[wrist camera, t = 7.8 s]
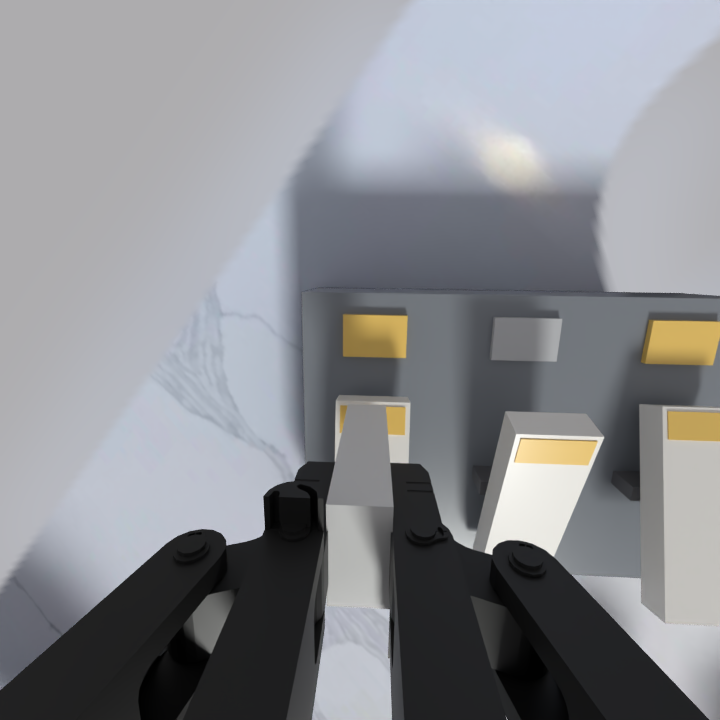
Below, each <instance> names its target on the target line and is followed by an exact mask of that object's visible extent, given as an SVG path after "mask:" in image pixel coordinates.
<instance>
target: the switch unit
mask: <svg viewBox="0 0 720 720" xmlns="http://www.w3.org/2000/svg"><path fill="white" fill-rule="evenodd" d="M301 297H302V340H303V383H304V425H305V464H306V463H307V462H308V461H316V462H335V415H336V399H337V398H338V396H339V395H359V396H394V397H408V398H409V401H410V433H409V463H413V464H421V465H422V466H423V467H424V468H425V469H426V470H427V471H428V472H429V476H430V479H431V485H432V487H433V491H434V494H435V498H436V502H437V505H438V509H439V513H440V517H441V520H442V524H443V525H445V526H446V527H447V528H448V529H449V530H450V532H451V534H452V535H453V538H454V540H455V541H456V542H458V543H460V544H461V545H463V546H465V547H468V548H471V549H473V544H474V540H475V536H476V532H477V528H478V523H479V519H480V515H481V511H482V507H483V503H484V498H485V494H486V490H487V486H488V482H489V478H490V473H491V469H492V465H493V461H494V457H495V453H496V448H497V444H498V440H499V436H500V432H501V428H502V423H503V419H504V415H505V411H516V412H549V413H582V414H587V415H588V417H589V418H590V419H591V420H592V422H593V423H594V424H595V426H596V427H597V428H598V429H599V431H600V432H601V433H602V435H603V436H604V439H603V442H602V444H601V446H600V449H599V451H598V453H597V456H596V458H595V461H594V463H593V465H592V468H591V470H590V472H589V475H588V477H587V479H586V482H585V484H584V487H583V489H582V491H581V494H580V496H579V498H578V501H577V503H576V506H575V508H574V510H573V513H572V515H571V517H570V520H569V522H568V524H567V527H566V529H565V532H564V534H563V536H562V539H561V541H560V543H559V546H558V548H557V551H556V553H555V555H554V558H556V559H557V560H558V562H559V563H560V564H561V565H562V566H563V567H564V568H565V569H566V570H567V571H568V572H569V573H570V574H571V575H588V576H608V577H628V578H641V527H640V426H639V404H651V405H686V406H714V407H720V296H712V295H698V294H684V293H630V292H626V293H625V292H567V291H503V290H439V289H375V288H315V289H311V290H307V291H303V292H301Z"/></svg>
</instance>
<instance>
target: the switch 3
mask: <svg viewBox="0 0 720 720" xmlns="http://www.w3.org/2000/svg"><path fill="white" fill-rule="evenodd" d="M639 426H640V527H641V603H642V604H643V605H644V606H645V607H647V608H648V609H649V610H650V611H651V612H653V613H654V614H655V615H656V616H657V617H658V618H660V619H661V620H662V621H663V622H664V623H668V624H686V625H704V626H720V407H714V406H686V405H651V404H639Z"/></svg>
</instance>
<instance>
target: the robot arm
mask: <svg viewBox="0 0 720 720" xmlns="http://www.w3.org/2000/svg"><path fill="white" fill-rule="evenodd" d="M263 497H264V517H265V531H264V533H263V535H262V536H261V537H259V538H257V539H254V540H251V541H247V542H243V543H238V544H232V545H227V546H226V540H225V538H224V537H223V535H222V534H221V533H219V532H216V531H214V530H206V529H201V530H195V531H189V532H187V533H185V534H182V535H180V536H177V537H176V538H174V539H173V540H171V541H170V542H168V543H167V544H166V545H164V546H163V547H162V548H161V549H160V550H159V551H158V552H157V553H155V554H154V555H153V556H152V557H151V558H150V559H149V560H147V561H146V562H145V563H144V564H143V565H142V566H141V567H140V568H138V569H137V570H136V571H135V572H134V573H133V574H132V575H130V576H129V577H128V578H127V579H126V580H125V581H124V582H123V583H121V584H120V585H119V586H118V587H117V588H116V589H115V590H114V591H112V592H111V593H110V594H109V595H108V596H107V597H106V598H104V599H103V600H102V601H101V602H100V603H99V604H98V605H97V606H95V607H94V608H93V609H92V610H91V611H90V612H89V613H87V614H86V615H85V616H84V617H83V618H82V619H81V620H80V621H78V622H77V623H76V624H75V625H74V626H73V627H72V628H71V629H69V630H68V631H67V632H66V633H65V634H64V635H63V636H61V637H60V638H59V639H58V640H57V641H56V642H55V643H54V644H52V645H51V646H50V647H49V648H48V649H47V650H46V651H44V652H43V653H42V654H41V655H40V656H39V657H38V658H37V659H35V660H34V661H33V662H32V663H31V664H30V665H29V666H28V667H26V668H25V669H24V670H23V671H22V672H21V673H20V674H18V675H17V676H16V677H15V678H14V679H13V680H12V681H11V682H9V683H8V684H7V685H6V686H5V687H4V688H3V689H1V690H0V720H312V713H313V706H314V699H315V692H316V685H317V678H318V671H319V664H320V657H321V650H322V643H323V636H324V629H325V603H326V596H327V606H335V607H356V608H377V609H390V621H389V647H388V658H390V670H391V699H392V720H507V719H508V720H709V719H708V718H707V717H706V716H705V715H704V714H703V713H702V712H701V711H700V710H699V708H698V707H697V706H696V705H695V704H694V703H693V702H692V701H691V700H690V699H689V698H688V697H687V696H686V695H685V694H684V693H683V692H682V691H681V690H680V689H679V687H678V686H677V685H676V684H675V683H674V682H673V681H672V680H671V679H670V678H669V677H668V676H667V675H666V674H665V673H664V672H663V671H662V670H661V669H660V668H659V666H658V665H657V664H656V663H655V662H654V661H653V660H652V659H651V658H650V657H649V656H648V655H647V654H646V653H645V652H644V651H643V650H642V649H641V648H640V647H639V646H638V644H637V643H636V642H635V641H634V640H633V639H632V638H631V637H630V636H629V635H628V634H627V633H626V632H625V631H624V630H623V629H622V628H621V627H620V626H619V625H618V623H617V622H616V621H615V620H614V619H613V618H612V617H611V616H610V615H609V614H608V613H607V612H606V611H605V610H604V609H603V608H602V607H601V606H600V605H599V604H598V602H597V601H596V600H595V599H594V598H593V597H592V596H591V595H590V594H589V593H588V592H587V591H586V590H585V589H584V588H583V587H582V586H581V585H580V584H579V583H578V581H577V580H576V579H575V578H574V577H573V576H572V575H571V574H570V573H569V572H568V571H567V570H566V569H565V568H564V567H563V566H562V565H561V564H560V563H559V562H558V560H557V559H556V558H554V557H553V556H552V555H551V554H549V553H548V552H547V551H546V550H544V549H542V548H540V547H538V546H536V545H534V544H532V543H528V542H524V541H520V540H507V541H504V542H501V543H498V544H497V545H496V546H495V547H494V548H493V551H492V555H491V554H487V553H484V552H480V551H477V550H473V549H471V548H468V547H465V546H463V545H461V544H460V543H458V542H456V541H455V540H454V538H453V535H452V534H451V532H450V530H449V529H448V528H447V527H446V526H445V525H443V524H442V520H441V517H440V513H439V509H438V505H437V502H436V498H435V494H434V491H433V487H432V485H431V479H430V476H429V472H428V471H427V470H426V469H425V468H424V467H423V466H422V465H421V464H413V463H390V453H389V440H388V427H387V414H386V405H360V404H348V406H347V410H346V415H345V419H344V424H343V429H342V433H341V438H340V442H339V447H338V452H337V456H336V461H335V462H316V461H308V462H307V463H306V464H305V465H303V466H302V467H301V468H300V469H299V470H298V472H297V475H296V477H295V481H294V482H286V483H283V484H279V485H277V486H275V487H273V488H272V489H270V490H269V491H268V492H267V493H266V494H265V495H264V496H263ZM505 715H506V716H505ZM506 717H507V719H506Z"/></svg>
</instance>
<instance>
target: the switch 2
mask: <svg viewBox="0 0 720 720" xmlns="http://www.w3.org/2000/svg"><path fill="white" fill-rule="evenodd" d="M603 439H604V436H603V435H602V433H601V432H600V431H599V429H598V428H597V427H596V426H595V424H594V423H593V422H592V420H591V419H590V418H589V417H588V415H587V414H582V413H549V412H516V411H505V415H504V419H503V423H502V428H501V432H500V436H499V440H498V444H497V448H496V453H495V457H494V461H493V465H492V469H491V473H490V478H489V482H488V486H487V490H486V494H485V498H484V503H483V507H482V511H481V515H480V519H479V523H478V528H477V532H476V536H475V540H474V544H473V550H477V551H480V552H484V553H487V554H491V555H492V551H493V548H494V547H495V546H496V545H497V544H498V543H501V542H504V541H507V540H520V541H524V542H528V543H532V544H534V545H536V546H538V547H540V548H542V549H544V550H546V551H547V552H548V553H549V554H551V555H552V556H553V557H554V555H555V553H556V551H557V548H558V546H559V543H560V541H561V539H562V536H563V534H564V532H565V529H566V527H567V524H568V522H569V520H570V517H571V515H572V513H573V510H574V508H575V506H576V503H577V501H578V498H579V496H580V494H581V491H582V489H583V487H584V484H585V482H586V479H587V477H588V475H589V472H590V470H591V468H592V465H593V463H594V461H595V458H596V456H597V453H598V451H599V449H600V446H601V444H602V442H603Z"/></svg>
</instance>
